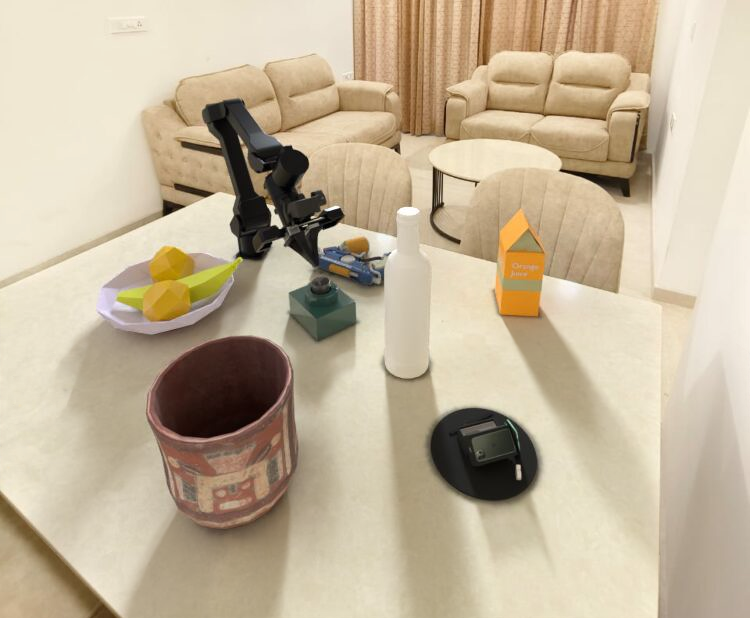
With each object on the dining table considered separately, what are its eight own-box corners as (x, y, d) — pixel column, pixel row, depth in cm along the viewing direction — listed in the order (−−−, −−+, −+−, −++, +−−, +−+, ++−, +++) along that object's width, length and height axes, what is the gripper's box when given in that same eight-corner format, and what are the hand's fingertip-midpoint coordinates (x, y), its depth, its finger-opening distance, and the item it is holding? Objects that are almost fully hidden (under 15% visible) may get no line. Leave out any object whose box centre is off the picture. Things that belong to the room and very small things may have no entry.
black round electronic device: (457, 514, 64) (459, 484, 62) (415, 422, 77) (416, 395, 75) (558, 482, 68) (564, 453, 66) (502, 400, 81) (505, 373, 79)
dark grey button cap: (308, 289, 99) (308, 280, 99) (324, 283, 101) (323, 274, 101) (318, 297, 97) (317, 288, 96) (333, 291, 99) (333, 281, 98)
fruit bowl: (70, 340, 96) (56, 290, 92) (159, 267, 120) (150, 225, 116) (200, 363, 90) (191, 310, 85) (266, 281, 114) (261, 237, 110)
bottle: (426, 382, 85) (431, 224, 74) (380, 376, 86) (379, 220, 75) (430, 351, 92) (436, 202, 81) (388, 345, 93) (388, 199, 82)
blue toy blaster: (341, 241, 131) (306, 268, 119) (341, 227, 129) (305, 253, 117) (412, 263, 121) (381, 295, 109) (413, 248, 120) (381, 279, 108)
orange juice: (530, 291, 109) (540, 208, 102) (538, 316, 101) (550, 228, 94) (493, 289, 110) (501, 207, 103) (499, 314, 102) (507, 227, 94)
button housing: (290, 312, 103) (287, 284, 101) (327, 297, 108) (325, 269, 106) (317, 341, 95) (315, 310, 92) (356, 322, 100) (355, 293, 97)
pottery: (147, 483, 68) (121, 381, 62) (258, 410, 80) (246, 317, 73) (210, 587, 56) (185, 474, 50) (330, 484, 68) (323, 381, 61)
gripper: (252, 191, 91) (285, 269, 87) (338, 168, 101) (371, 237, 97) (239, 216, 99) (269, 287, 95) (320, 192, 110) (350, 256, 106)
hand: (317, 266), depth 98 cm, fingers closed
